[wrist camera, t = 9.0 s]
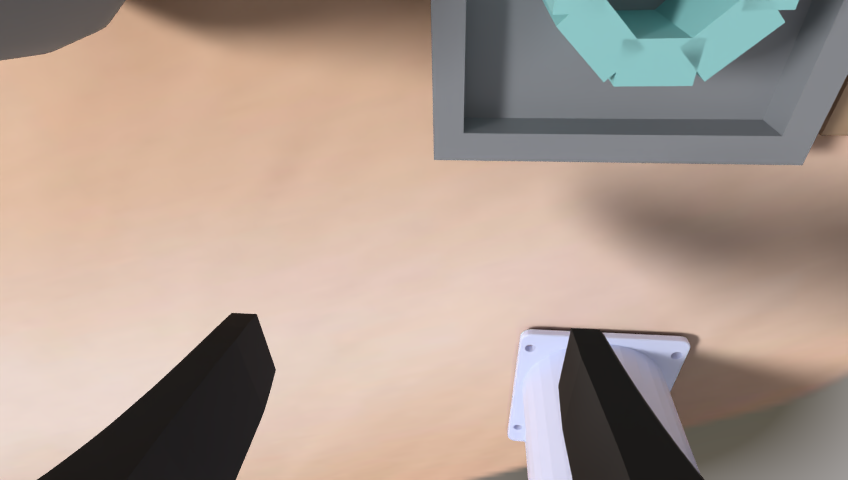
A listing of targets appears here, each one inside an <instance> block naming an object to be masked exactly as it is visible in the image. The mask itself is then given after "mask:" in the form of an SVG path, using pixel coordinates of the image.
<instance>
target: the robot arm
mask: <svg viewBox="0 0 848 480" xmlns="http://www.w3.org/2000/svg"><path fill="white" fill-rule="evenodd" d="M528 345H531V346H528ZM689 350H690V343H689V341H688V339H687V338H685V337H682V336H667V335H645V334H623V333H602V332H601V331H600V330H594V329H572V328H571V331H558V330H536V329H529V330H525V331H523V332H522V333H521V335H520V341H519V349H518V356H517V364H516V371H515V379H514V386H513V394H512V401H511V409H510V416H509V424H508V437H509V438H510V439H511V440H514V441H525V446H526V458H527V470H528V480H704V479H703V477H702V476H701V475H700V472H699V470H698V467H697V464H696V461H695V459H694V456H693V453H692V451H691V448H690V445H689V442H688V440H687V437H686V434H685V432H684V429H683V426H682V424H681V421H680V418H679V416H678V413H677V410H676V408H675V405H674V402H673V399H672V397H671V394H670V391H671V389H672V387H673V385H674V383H675V380H676V378H677V376H678V374H679V372H680V370H681V367H682V365H683V363H684V361H685V359H686V357H687V354H688V352H689ZM275 371H276V369H275V366H274V363H273V360H272V358H271V355H270V352H269V349H268V346H267V343H266V340H265V337H264V334H263V331H262V328H261V326H260V323H259V320H258V317H257V314H241V313H231V314H230V315H229V316H228V317H227V318H226V319H225V320H224V321H223V322H222V323H221V324H220V325H219V326H217V327H216V328H215V329H214V330H213V331H212V332H211V333H210V334H209V335H208V336H207V337H206V338H205V339H204V340H203V341H202V342H201V343H200V344H199V345H198V346H197V347H196V348H194V349H193V350H192V351H191V352H190V353H189V354H188V355H187V356H186V357H185V358H184V359H183V360H182V361H181V362H180V363H179V364H178V365H177V366H175V367H174V368H173V369H172V370H171V371H170V372H169V373H168V374H167V375H166V376H165V377H164V378H163V379H161V380H160V381H159V382H158V383H157V384H156V385H155V386H154V387H153V388H152V389H151V390H149V391H148V392H147V393H146V394H145V395H144V396H143V397H141V398H140V399H139V400H138V401H137V402H136V403H134V404H133V405H132V406H131V407H130V408H129V409H128V410H126V411H125V412H124V413H123V414H122V415H121V416H119V417H118V418H117V419H116V420H115V421H114V422H112V423H111V424H110V425H109V426H108V427H106V428H105V429H104V430H103V431H101V432H100V433H99V434H98V435H96V436H95V437H94V438H93V439H91V440H90V441H89V442H88V443H86V444H85V445H84V446H82V447H81V448H80V449H78V450H77V451H76V452H74V453H73V454H72V455H70V456H69V457H68V458H67V459H65V460H64V461H63V462H61V463H60V464H59V465H57V466H56V467H54V468H53V469H52V470H50V471H49V472H48V473H46V474H45V475H43V476H42V477H40V478H39V479H37V480H236V478H237V475H238V473H239V470H240V468H241V466H242V463H243V461H244V459H245V456H246V454H247V452H248V449H249V447H250V445H251V442H252V440H253V437H254V435H255V432H256V430H257V428H258V425H259V423H260V420H261V418H262V415H263V413H264V410H265V407H266V403H267V400H268V397H269V393H270V390H271V386H272V382H273V378H274V375H275Z"/></svg>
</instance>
